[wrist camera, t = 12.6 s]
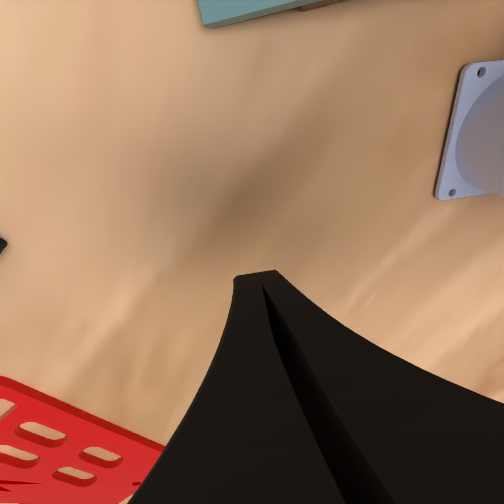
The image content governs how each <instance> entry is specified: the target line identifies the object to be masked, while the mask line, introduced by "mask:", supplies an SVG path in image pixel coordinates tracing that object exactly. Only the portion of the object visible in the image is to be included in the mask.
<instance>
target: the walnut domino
mask: <svg viewBox="0 0 504 504" xmlns="http://www.w3.org/2000/svg"><path fill="white" fill-rule="evenodd" d="M341 1H345V0H322V1H318V2H315V3H311V4H307V5H303V6H300V7H301V11H302V12H304V11H307V10H311V9H315V8H318V7H322V6H326V5H330V4H333V3H337V2H341Z"/></svg>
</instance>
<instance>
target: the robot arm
mask: <svg viewBox="0 0 504 504" xmlns="http://www.w3.org/2000/svg"><path fill="white" fill-rule="evenodd" d="M479 69H480V74H479V75H478V76H477V72H478V70H479ZM451 189H452V191H451V193H450V194H449V191H450V190H451ZM492 193H494V194H496V195H499V196H502V197H504V60H497V61H486V62H476V63H469V64H467V65H466V66H465V67H464V68H463V70H462V72H461V75H460V79H459V84H458V89H457V93H456V98H455V103H454V107H453V112H452V116H451V121H450V126H449V130H448V135H447V140H446V144H445V149H444V154H443V158H442V163H441V167H440V172H439V177H438V181H437V186H436V191H435V197H436V198H437V199H439V200H442V201H444V200H451V199H457V198H464V197H471V196H478V195H485V194H492ZM233 283H234V288H233V296H232V302H231V306H230V310H229V314H228V318H227V322H226V325H225V328H224V331H223V334H222V337H221V340H220V343H219V345H218V348H217V351H216V353H215V356H214V358H213V360H212V363H211V365H210V367H209V369H208V371H207V374H206V376H205V378H204V380H203V382H202V384H201V386H200V388H199V390H198V392H197V394H196V396H195V398H194V399H193V401H192V403H191V405H190V407H189V409H188V411H187V412H186V414H185V416H184V418H183V419H182V421H181V423H180V424H179V426H178V427H177V429H176V431H175V432H174V434H173V436H172V437H171V439H170V440H169V442H168V444H167V445H166V447H165V449H164V450H163V452H162V453H161V455H160V457H159V458H158V460H157V461H156V463H155V464H154V466H153V467H152V469H151V470H150V472H149V473H148V475H147V476H146V478H145V479H144V481H143V482H142V483H141V485H140V486H139V488H138V489H137V490H136V492H135V493H134V495H133V496H132V498H131V499H130V500H129V502H128V503H127V504H504V403H501V402H498V401H495V400H493V399H490V398H488V397H485V396H483V395H480V394H478V393H476V392H473V391H471V390H469V389H466V388H464V387H462V386H459V385H457V384H454V383H452V382H450V381H447V380H445V379H443V378H441V377H439V376H436V375H434V374H432V373H430V372H428V371H425V370H423V369H421V368H419V367H417V366H415V365H413V364H411V363H409V362H407V361H405V360H403V359H401V358H399V357H397V356H395V355H393V354H391V353H390V352H388V351H386V350H384V349H382V348H380V347H379V346H377V345H375V344H374V343H372V342H370V341H368V340H367V339H365V338H363V337H362V336H360V335H358V334H357V333H355V332H353V331H352V330H350V329H349V328H347V327H346V326H344V325H343V324H341V323H340V322H339V321H337V320H336V319H334V318H333V317H331V316H330V315H329V314H327V313H326V312H325V311H323V310H322V309H321V308H320V307H318V306H317V305H316V304H315V303H313V302H312V301H311V300H310V299H308V298H307V297H306V296H305V295H303V294H302V293H301V292H300V291H299V290H298V289H297V288H295V287H294V286H293V285H292V284H291V283H290V282H289V281H288V280H287V279H285V278H284V277H283V276H282V275H281V274H280V273H279V272H278V271H276V270H270V271H264V272H257V273H251V274H245V275H239V276H236V277H235V278H234V279H233Z"/></svg>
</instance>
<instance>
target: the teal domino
mask: <svg viewBox="0 0 504 504" xmlns="http://www.w3.org/2000/svg"><path fill="white" fill-rule="evenodd" d="M318 1H322V0H198V4H199V9H200V13H201V18H202V23H203V25H204V26H207V27H210V28H217V27H221V26H225V25H229V24H233V23H237V22H241V21H245V20H248V19H252V18H256V17H260V16H264V15H268V14H272V13H276V12H280V11H283V10H287V9H291V8H295V7H299V6H303V5H307V4H311V3H315V2H318Z"/></svg>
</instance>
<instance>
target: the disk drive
mask: <svg viewBox="0 0 504 504" xmlns="http://www.w3.org/2000/svg"><path fill="white" fill-rule="evenodd" d="M6 246H7V241H5V240H4V239H2V238H0V253H1V252H2V251H3V249H4V248H5V247H6Z"/></svg>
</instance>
